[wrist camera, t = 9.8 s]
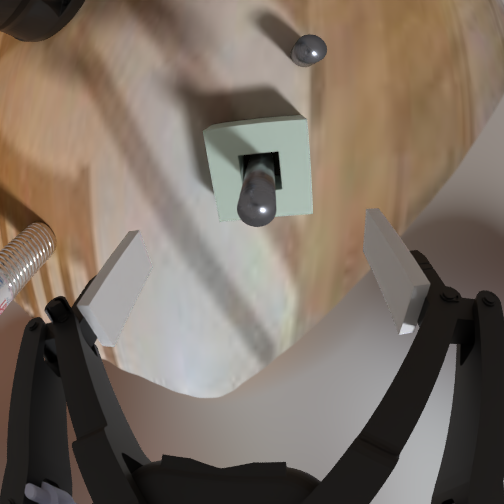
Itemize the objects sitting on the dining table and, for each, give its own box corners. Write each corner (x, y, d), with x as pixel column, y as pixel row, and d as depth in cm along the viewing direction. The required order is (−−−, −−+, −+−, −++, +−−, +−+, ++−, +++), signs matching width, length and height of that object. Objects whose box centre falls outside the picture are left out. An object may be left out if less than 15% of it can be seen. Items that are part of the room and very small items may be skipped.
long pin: (247, 150, 31) (234, 192, 20) (272, 147, 31) (274, 188, 19) (250, 173, 33) (239, 228, 21) (274, 170, 33) (278, 225, 21)
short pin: (289, 44, 24) (293, 34, 19) (314, 43, 24) (324, 34, 19) (292, 67, 26) (297, 62, 21) (317, 66, 26) (328, 62, 21)
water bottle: (41, 255, 42) (-38, 354, 21) (25, 223, 38) (-65, 316, 17) (63, 251, 41) (-22, 361, 20) (47, 215, 37) (-54, 319, 16)
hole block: (212, 124, 30) (202, 130, 26) (301, 114, 29) (307, 119, 25) (225, 203, 35) (219, 221, 31) (307, 196, 34) (312, 213, 30)
